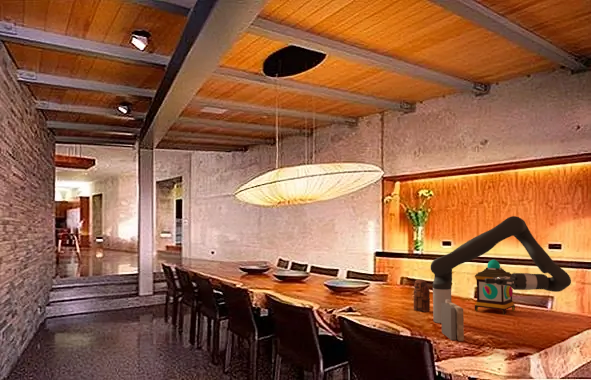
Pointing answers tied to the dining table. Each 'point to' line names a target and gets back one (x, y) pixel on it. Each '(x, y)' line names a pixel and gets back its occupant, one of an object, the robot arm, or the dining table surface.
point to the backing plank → (448, 320)
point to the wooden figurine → (421, 296)
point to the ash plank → (458, 321)
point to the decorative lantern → (493, 289)
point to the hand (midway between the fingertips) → (485, 281)
